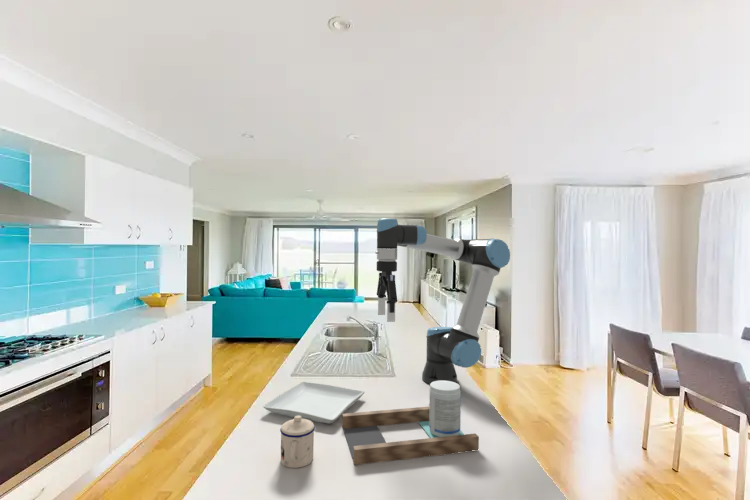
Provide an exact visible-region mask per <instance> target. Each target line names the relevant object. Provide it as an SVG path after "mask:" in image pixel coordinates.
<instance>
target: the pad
mask: <svg viewBox="0 0 750 500" xmlns="http://www.w3.org/2000/svg"><path fill="white" fill-rule="evenodd" d="M418 424H419V425H420V426H421V428H422V429H423V431H424V433H426V434H427V436H428V438H436V437H438V436H435V435H434V434H432V433H431V431H430V428H429V427H430V426H429V421H423V422H418ZM459 435H465V433H464V432H463V431H462V430H461V429H460V434H459Z"/></svg>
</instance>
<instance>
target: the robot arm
mask: <svg viewBox="0 0 750 500" xmlns="http://www.w3.org/2000/svg"><path fill="white" fill-rule="evenodd" d="M398 222H399V221H398V219H396V218H390V217H389V218H385V217H384V218H380V219H379V218H378V220H377V223H376V224H377V225H376V238H377V239H376V251H375V254H376V260H377V261H376V271H377V272H378V280H377V281H378V282H377V290H376V296H377V315H378V316H386V322H387V323H391V322H392V323H393V322H394V323H395V322H396V303H398V294H397V286H396V275H395V274H393V272H397V271H398V262H397V260H398V247H403V248H404V247H405V248H407V249H412V250H418V251H423V252H427V253H431V254H437V255H442V256H446V257H450V258H451V259H452V260H454V261H458V262H461V263H462V262H463V263H466V264H469V265H471V266H470V267H471V268H472V271H473V272H472V274H471V279H470V281H469V285H468V288H467V290H466V293H465V297H464V300H463V303H462V306H461V309H460V313H459V316H458V319H457V322H456V325H454V326H453V327H451V326H434V327H429V328H428V329H427V331H426V336H425V337H426V359H425V360H426V361H425V364H424V368H423V371H422V374H421V375H422V376H421V379H422V382H424V383H426V384H429V385H430V384H431V383H432V382H434V381H440V380H445V381H452V382H455V383H456V382H457V383H458V375H457V371H456V368H455V366H458V367H461V368H470V367H472V366H474V365H476V364H477V362H479V360H480V358H481V356H482V355H481V354H482V348H481V344H480V343H479V340H480V336H479V334H478V330H479V327H480V324H481V320H482V317H483V314H484V311H485V308H486V304H487V301H488V298H489V295H490V292H491V287H492V285H493V281H494V278H495V277H496V276H498V275H499V274H500V272H501V269H502V268H504V267H506V266H507V265H508V264H509V262H510V260H511V251H510V248H509V246H508V244H507V243H506V242H505V241H504V240H501V239H499V238H482V239H481V238H476V239H475V238H474V239H464V238H463V239H462V238H455V239H451V238H447V237H442V236H438V235H434V234H429V233H428V231H427V229H426V228H425V227H424V226H423V225H419V224H418V225H417V224H400V223H398ZM386 298H387V300H386ZM386 305H387V308H386ZM386 309H387V310H386ZM386 311H387V312H386Z"/></svg>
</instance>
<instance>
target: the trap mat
mask: <svg viewBox="0 0 750 500" xmlns="http://www.w3.org/2000/svg"><path fill="white" fill-rule="evenodd" d="M342 429H343V428H342ZM343 434H344V437H345V439H346V443H347V446H348V449H349V452H350V455H351V458H352V460H353V446H359V445H369V444H379V443H387V442H386V440H385V438H384V436H383V433H382V432H381V430H380V428H379V426H369V427H358V428H347V429H343Z"/></svg>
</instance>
